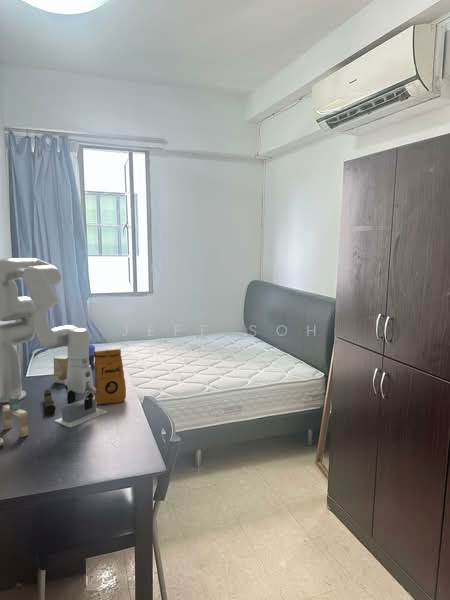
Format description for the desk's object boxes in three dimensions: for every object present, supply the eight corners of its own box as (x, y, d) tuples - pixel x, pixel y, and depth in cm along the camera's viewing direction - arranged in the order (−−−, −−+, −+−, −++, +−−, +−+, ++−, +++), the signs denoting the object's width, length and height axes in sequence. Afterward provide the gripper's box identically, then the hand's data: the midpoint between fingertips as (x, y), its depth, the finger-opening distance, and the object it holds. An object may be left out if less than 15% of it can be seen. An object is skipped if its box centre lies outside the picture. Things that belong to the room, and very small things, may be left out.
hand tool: (55, 414, 155) (55, 402, 154) (44, 416, 153) (43, 404, 153) (54, 397, 172) (54, 387, 172) (44, 399, 171) (43, 388, 170)
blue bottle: (80, 383, 189) (78, 331, 186) (99, 384, 188) (98, 332, 185) (70, 390, 180) (68, 335, 177) (90, 391, 179) (88, 336, 176)
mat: (54, 421, 148) (54, 420, 148) (90, 407, 162) (90, 406, 162) (70, 427, 143) (70, 426, 143) (105, 412, 157) (105, 411, 157)
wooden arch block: (3, 428, 142) (1, 395, 140) (9, 426, 143) (7, 393, 142) (22, 437, 136) (20, 402, 134) (28, 434, 137) (26, 400, 136)
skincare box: (53, 383, 190) (52, 357, 188) (58, 380, 194) (57, 355, 192) (66, 384, 189) (65, 358, 187) (71, 381, 193) (70, 356, 191)
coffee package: (127, 403, 166) (126, 351, 163) (95, 407, 162) (93, 354, 159) (124, 395, 175) (123, 345, 172) (93, 399, 171) (92, 348, 168)
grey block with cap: (62, 420, 148) (61, 407, 147) (91, 408, 159) (90, 396, 158) (69, 423, 146) (68, 409, 145) (98, 411, 157) (97, 398, 156)
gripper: (102, 363, 148) (103, 407, 151) (72, 355, 158) (73, 397, 160) (85, 368, 142) (86, 414, 144) (55, 359, 151) (56, 403, 154)
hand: (79, 405), depth 152 cm, fingers open, 9 cm apart
